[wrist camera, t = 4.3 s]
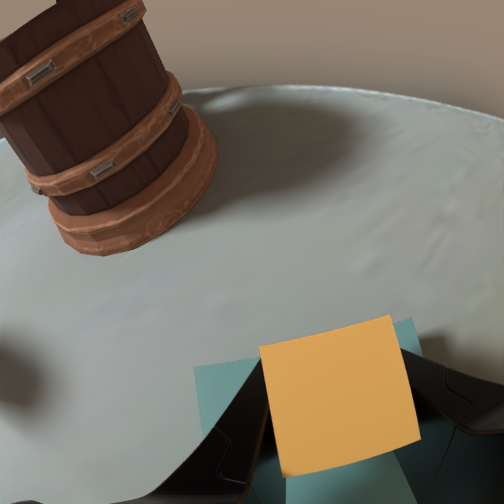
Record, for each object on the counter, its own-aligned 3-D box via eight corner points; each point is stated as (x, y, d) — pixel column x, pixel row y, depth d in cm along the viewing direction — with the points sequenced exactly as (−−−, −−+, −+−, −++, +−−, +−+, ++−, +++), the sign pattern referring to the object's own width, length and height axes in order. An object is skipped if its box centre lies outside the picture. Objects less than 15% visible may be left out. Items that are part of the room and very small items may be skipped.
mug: (229, 87, 33) (191, -60, 16) (206, 250, 22) (65, -38, 5) (103, 117, 36) (44, 4, 18) (36, 260, 24) (-96, 127, 7)
